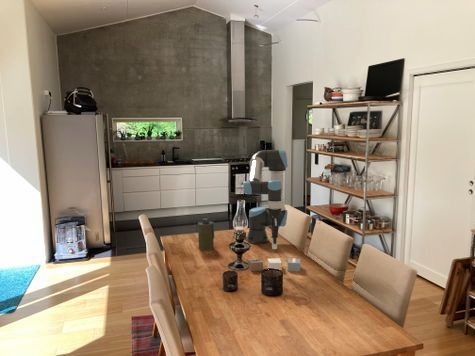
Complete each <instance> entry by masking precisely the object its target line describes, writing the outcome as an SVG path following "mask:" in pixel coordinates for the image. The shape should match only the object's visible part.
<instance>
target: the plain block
mask: <svg viewBox="0 0 475 356" xmlns="http://www.w3.org/2000/svg"><path fill="white" fill-rule="evenodd" d="M282 264H283V263H282V261H281V258H278V257H277V258H267V269H268V268H274V269H279V270H281V271H280V272H282Z"/></svg>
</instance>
